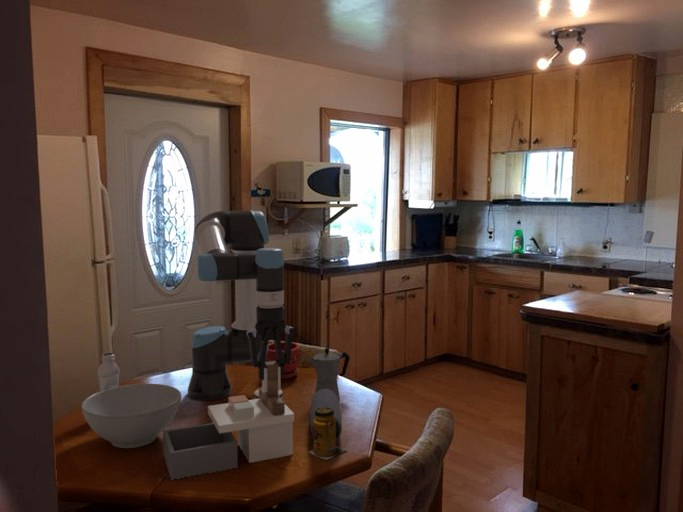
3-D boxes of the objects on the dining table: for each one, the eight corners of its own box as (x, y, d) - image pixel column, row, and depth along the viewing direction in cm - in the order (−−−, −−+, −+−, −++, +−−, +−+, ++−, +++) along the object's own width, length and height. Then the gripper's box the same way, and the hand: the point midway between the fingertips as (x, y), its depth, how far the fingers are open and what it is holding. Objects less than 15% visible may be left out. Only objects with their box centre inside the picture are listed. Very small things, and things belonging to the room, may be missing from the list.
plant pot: (269, 370, 231) (269, 341, 230) (302, 371, 229) (301, 341, 228) (262, 380, 218) (261, 349, 217) (296, 381, 216) (296, 350, 215)
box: (163, 455, 154) (163, 430, 154) (224, 445, 161) (224, 421, 160) (171, 480, 141) (170, 453, 140) (237, 468, 147) (237, 441, 147)
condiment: (306, 452, 156) (306, 410, 155) (328, 443, 162) (328, 402, 161) (326, 461, 151) (325, 417, 150) (347, 450, 157) (347, 408, 156)
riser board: (208, 447, 159) (207, 406, 158) (277, 435, 167) (277, 395, 166) (220, 471, 146) (219, 425, 144) (294, 456, 154) (294, 413, 152)
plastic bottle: (126, 413, 184) (123, 352, 182) (109, 420, 178) (107, 358, 176) (111, 410, 187) (109, 350, 185) (94, 417, 181) (92, 355, 179)
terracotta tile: (228, 406, 158) (228, 397, 158) (244, 403, 160) (244, 394, 160) (232, 411, 154) (232, 402, 154) (248, 409, 156) (248, 400, 156)
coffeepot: (315, 406, 190) (315, 353, 189) (304, 398, 199) (303, 347, 197) (355, 399, 198) (356, 348, 196) (342, 391, 206) (343, 342, 204)
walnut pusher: (259, 398, 163) (258, 357, 162) (269, 396, 165) (268, 356, 163) (273, 415, 151) (273, 371, 149) (284, 413, 152) (284, 369, 151)
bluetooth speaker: (310, 417, 181) (309, 387, 180) (339, 417, 181) (339, 386, 180) (309, 449, 158) (309, 414, 157) (343, 448, 159) (343, 413, 158)
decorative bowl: (140, 415, 183) (139, 378, 182) (201, 432, 170) (200, 393, 168) (62, 446, 160) (60, 404, 159) (126, 469, 147) (124, 423, 145)
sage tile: (233, 412, 153) (232, 403, 153) (249, 410, 155) (249, 401, 155) (237, 418, 149) (236, 409, 149) (253, 416, 151) (253, 406, 151)
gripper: (244, 310, 148) (246, 398, 151) (303, 305, 155) (303, 390, 157) (237, 305, 155) (239, 389, 157) (293, 301, 161) (294, 381, 164)
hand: (271, 389), depth 157 cm, fingers closed on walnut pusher, 3 cm apart
